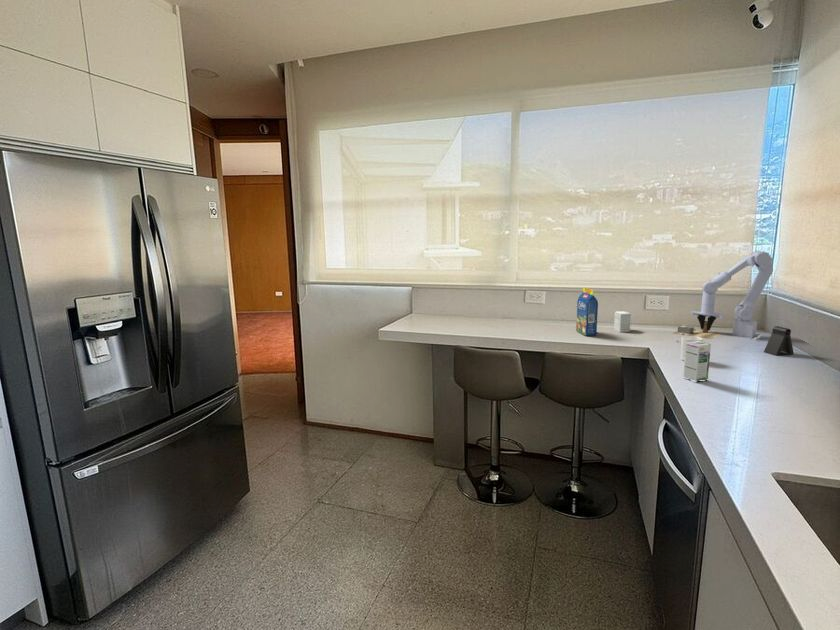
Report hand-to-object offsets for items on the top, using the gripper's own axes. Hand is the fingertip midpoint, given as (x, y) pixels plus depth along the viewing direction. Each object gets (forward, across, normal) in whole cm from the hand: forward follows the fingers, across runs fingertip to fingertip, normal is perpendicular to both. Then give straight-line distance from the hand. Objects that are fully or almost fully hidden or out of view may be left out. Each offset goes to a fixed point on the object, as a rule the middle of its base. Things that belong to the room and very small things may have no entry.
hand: (705, 329), depth 233 cm
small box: (+3, +34, +22) cm, 41 cm away
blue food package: (+3, +44, +42) cm, 61 cm away
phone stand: (+3, -35, +16) cm, 39 cm away
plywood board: (+2, +2, +6) cm, 6 cm away
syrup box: (+3, -24, +80) cm, 84 cm away
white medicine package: (+3, -13, +56) cm, 57 cm away
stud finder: (+2, +7, +7) cm, 10 cm away
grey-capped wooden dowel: (+1, 0, 0) cm, 1 cm away
